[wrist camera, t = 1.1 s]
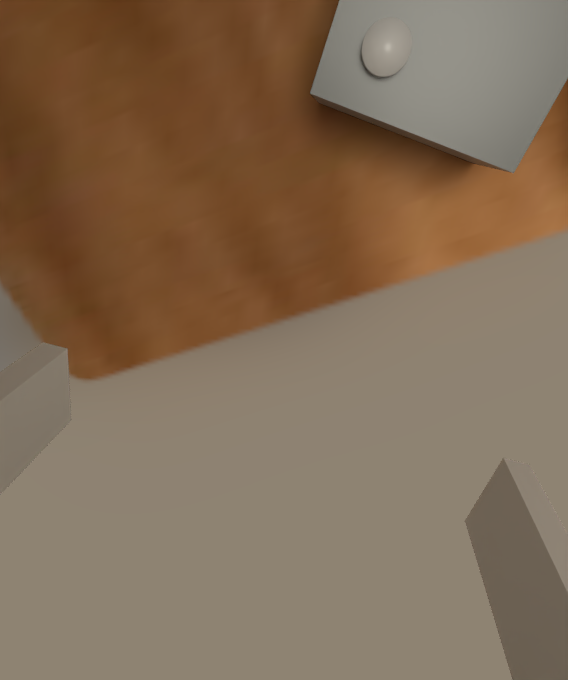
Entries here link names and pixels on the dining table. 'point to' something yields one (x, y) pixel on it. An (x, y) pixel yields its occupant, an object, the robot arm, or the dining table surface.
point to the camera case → (448, 71)
